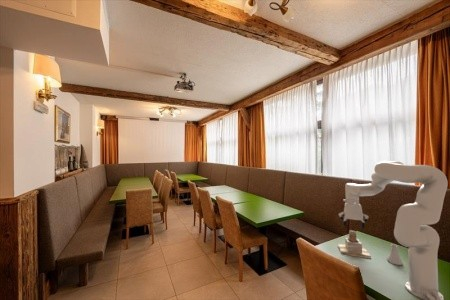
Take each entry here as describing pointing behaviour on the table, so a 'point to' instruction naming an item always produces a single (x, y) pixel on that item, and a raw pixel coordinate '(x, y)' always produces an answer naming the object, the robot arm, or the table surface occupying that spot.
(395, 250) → the flask
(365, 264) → the table surface
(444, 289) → the table surface
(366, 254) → the socket block
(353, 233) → the dowel
